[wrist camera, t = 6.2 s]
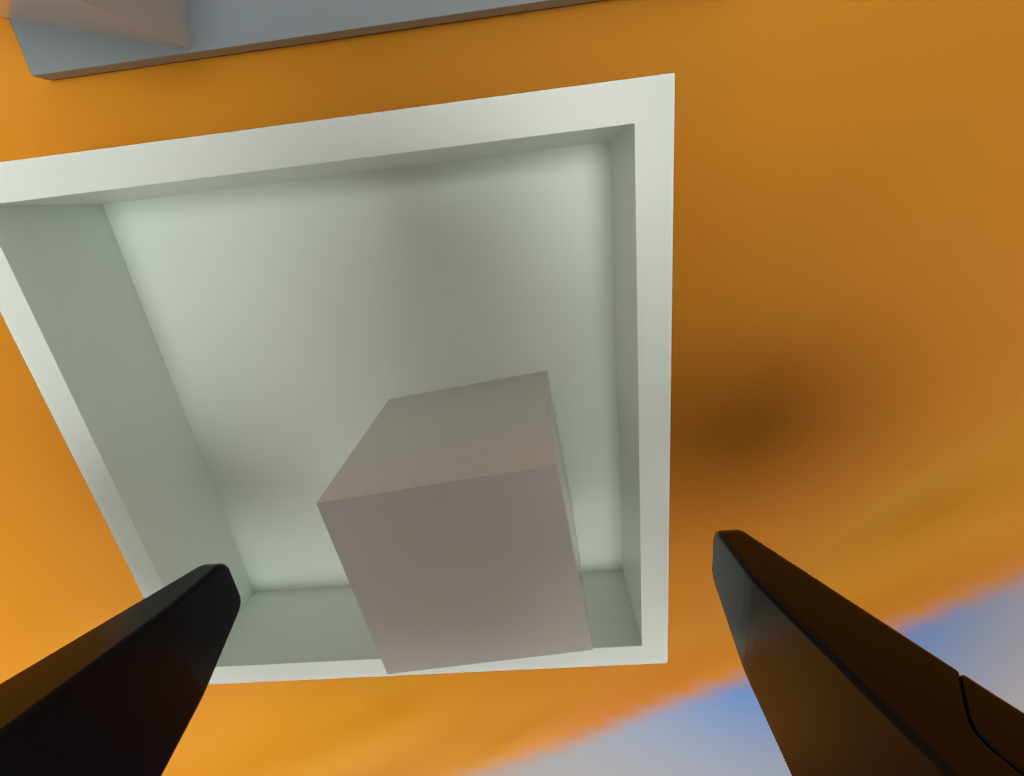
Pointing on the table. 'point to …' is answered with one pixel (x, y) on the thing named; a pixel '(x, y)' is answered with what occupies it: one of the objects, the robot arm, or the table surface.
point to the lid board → (247, 30)
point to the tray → (354, 339)
